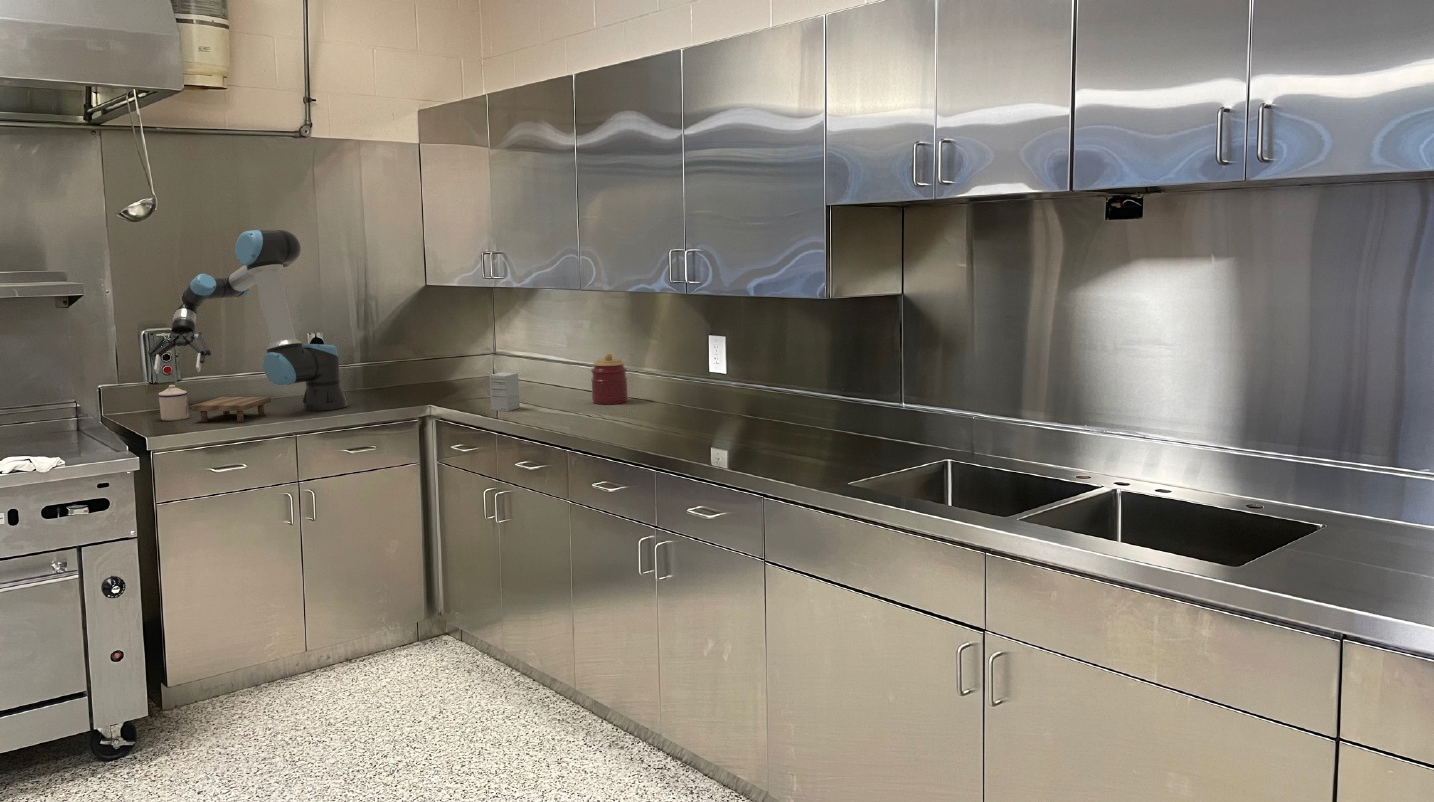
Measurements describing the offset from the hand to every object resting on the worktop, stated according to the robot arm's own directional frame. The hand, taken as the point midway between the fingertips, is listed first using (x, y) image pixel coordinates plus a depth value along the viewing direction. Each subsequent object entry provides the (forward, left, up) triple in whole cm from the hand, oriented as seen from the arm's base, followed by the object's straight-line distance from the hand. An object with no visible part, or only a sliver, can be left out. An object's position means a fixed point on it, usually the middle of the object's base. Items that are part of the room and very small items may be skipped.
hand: (177, 370), depth 376 cm
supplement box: (-116, -10, -15) cm, 117 cm away
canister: (-150, -26, -15) cm, 153 cm away
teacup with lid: (-4, +10, -15) cm, 19 cm away
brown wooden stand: (-26, +10, -15) cm, 32 cm away
